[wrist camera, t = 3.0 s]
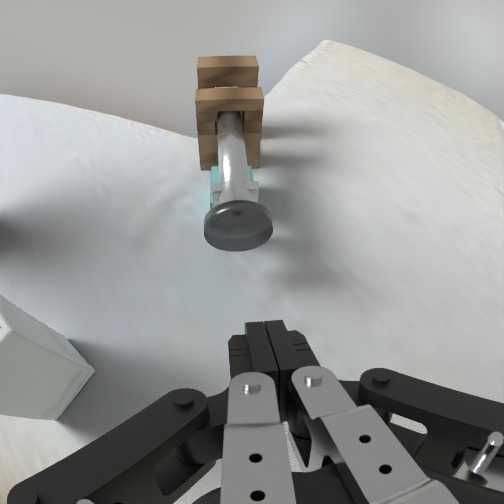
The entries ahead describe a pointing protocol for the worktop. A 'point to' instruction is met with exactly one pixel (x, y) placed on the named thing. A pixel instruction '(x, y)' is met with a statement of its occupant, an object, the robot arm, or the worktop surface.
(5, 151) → the worktop surface
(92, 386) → the worktop surface
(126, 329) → the worktop surface
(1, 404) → the skincare box
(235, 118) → the shaft
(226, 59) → the bearing stand
